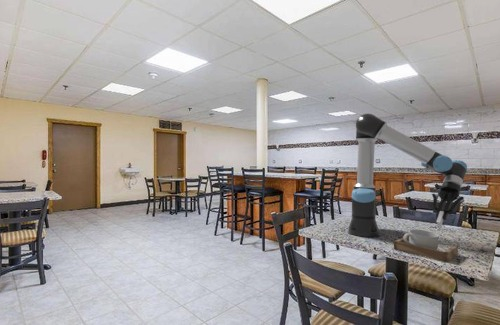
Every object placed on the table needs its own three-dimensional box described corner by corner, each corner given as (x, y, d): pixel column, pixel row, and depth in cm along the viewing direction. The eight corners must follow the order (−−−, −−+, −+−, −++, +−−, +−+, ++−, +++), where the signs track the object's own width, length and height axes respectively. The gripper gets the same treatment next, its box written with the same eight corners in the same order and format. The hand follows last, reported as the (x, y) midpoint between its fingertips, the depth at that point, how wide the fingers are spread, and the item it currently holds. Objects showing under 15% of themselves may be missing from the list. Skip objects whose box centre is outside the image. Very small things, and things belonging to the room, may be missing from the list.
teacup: (430, 247, 118) (430, 229, 118) (444, 256, 108) (444, 236, 108) (397, 246, 120) (397, 228, 120) (408, 254, 109) (408, 235, 109)
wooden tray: (406, 243, 124) (406, 236, 124) (457, 254, 109) (457, 246, 109) (393, 249, 116) (393, 241, 116) (447, 262, 100) (447, 253, 100)
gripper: (469, 192, 128) (457, 232, 118) (437, 189, 139) (424, 226, 129) (466, 182, 125) (454, 221, 115) (434, 180, 135) (420, 216, 125)
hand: (438, 224), depth 122 cm, fingers closed
